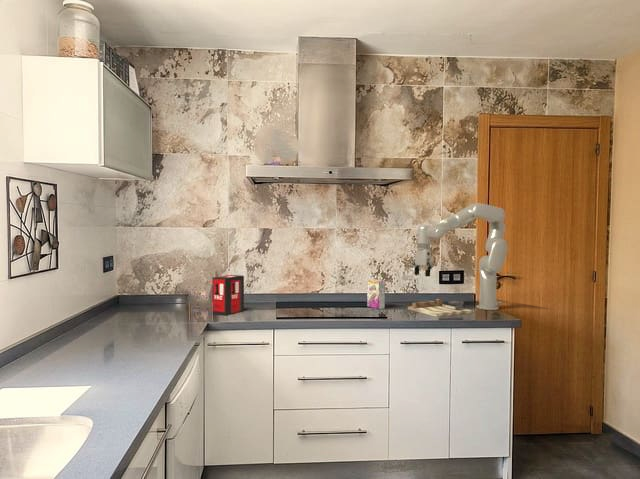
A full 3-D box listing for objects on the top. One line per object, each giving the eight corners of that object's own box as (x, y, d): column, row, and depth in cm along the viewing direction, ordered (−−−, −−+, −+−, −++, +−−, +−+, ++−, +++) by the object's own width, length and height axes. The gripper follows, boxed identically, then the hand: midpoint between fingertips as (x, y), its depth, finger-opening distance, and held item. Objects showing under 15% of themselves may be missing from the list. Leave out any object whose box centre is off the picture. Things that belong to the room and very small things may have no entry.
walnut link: (438, 304, 297) (438, 298, 297) (444, 305, 292) (444, 299, 292) (411, 306, 287) (411, 300, 287) (416, 307, 283) (416, 301, 283)
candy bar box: (366, 306, 296) (366, 279, 296) (372, 306, 299) (373, 279, 299) (378, 309, 287) (379, 281, 286) (385, 308, 290) (385, 280, 289)
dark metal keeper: (458, 308, 284) (458, 300, 284) (463, 309, 280) (464, 301, 280) (447, 309, 280) (447, 301, 280) (452, 310, 276) (452, 302, 276)
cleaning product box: (225, 315, 262) (225, 278, 261) (212, 314, 266) (212, 277, 265) (243, 311, 277) (243, 275, 276) (230, 309, 280) (230, 274, 280)
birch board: (441, 306, 301) (441, 303, 301) (472, 312, 279) (472, 310, 279) (407, 309, 289) (407, 306, 288) (436, 316, 266) (436, 313, 266)
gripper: (438, 247, 286) (436, 277, 287) (418, 246, 302) (417, 273, 302) (428, 247, 283) (427, 277, 283) (409, 245, 298) (407, 274, 298)
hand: (422, 275), depth 293 cm, fingers open, 9 cm apart
